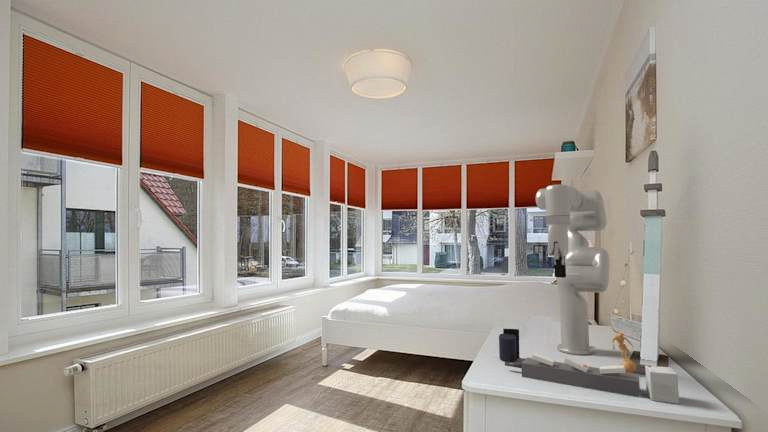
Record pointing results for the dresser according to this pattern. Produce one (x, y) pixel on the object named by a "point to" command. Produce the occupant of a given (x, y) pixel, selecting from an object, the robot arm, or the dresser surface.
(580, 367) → the block
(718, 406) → the dresser surface
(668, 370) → the skincare box
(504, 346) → the speaker
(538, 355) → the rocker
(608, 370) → the block
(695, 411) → the dresser surface
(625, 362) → the figurine
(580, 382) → the power strip
